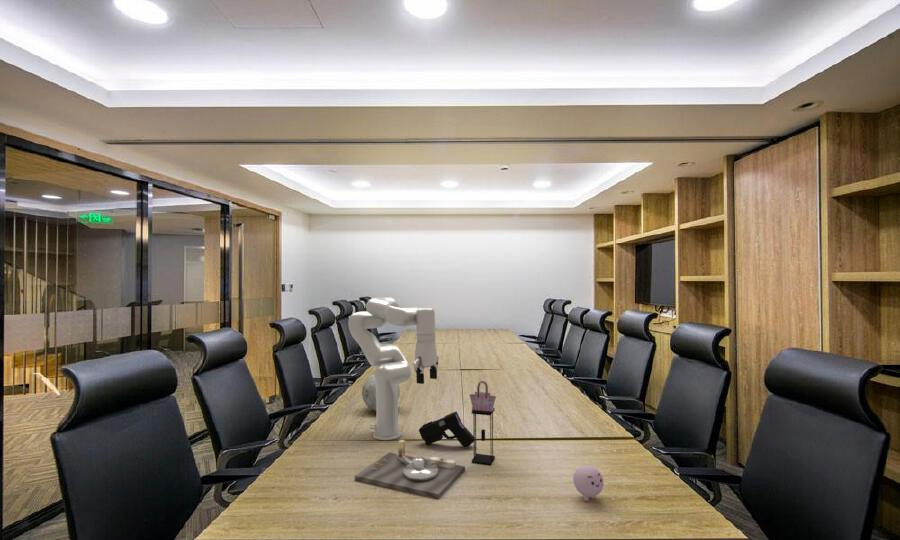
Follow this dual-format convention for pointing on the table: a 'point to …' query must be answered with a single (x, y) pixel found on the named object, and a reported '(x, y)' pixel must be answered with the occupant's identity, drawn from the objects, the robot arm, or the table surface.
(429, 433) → the toy
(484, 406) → the handbag
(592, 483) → the toy
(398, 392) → the decorative sphere
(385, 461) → the level board
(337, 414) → the table surface
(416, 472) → the crank handle
